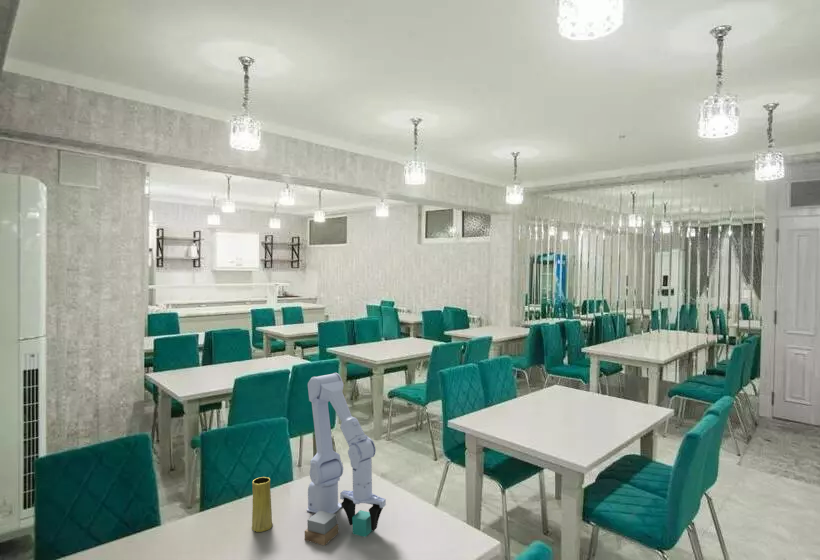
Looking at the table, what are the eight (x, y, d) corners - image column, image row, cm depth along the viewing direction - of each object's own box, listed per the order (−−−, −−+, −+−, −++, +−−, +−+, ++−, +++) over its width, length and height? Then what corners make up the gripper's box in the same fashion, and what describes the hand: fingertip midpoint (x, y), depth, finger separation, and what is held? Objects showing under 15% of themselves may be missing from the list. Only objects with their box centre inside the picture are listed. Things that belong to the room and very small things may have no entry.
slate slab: (307, 530, 135) (307, 519, 135) (320, 520, 140) (319, 510, 140) (324, 534, 132) (324, 524, 132) (336, 524, 138) (336, 514, 138)
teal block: (352, 533, 138) (352, 517, 138) (360, 526, 142) (360, 510, 142) (365, 537, 136) (365, 520, 136) (373, 529, 140) (373, 513, 140)
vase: (247, 527, 142) (247, 480, 142) (266, 519, 146) (265, 474, 146) (258, 534, 138) (257, 486, 138) (276, 526, 142) (275, 480, 142)
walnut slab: (304, 541, 135) (304, 530, 135) (319, 529, 141) (319, 519, 141) (324, 546, 132) (324, 536, 132) (338, 534, 138) (338, 524, 138)
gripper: (334, 482, 138) (335, 527, 138) (377, 491, 132) (378, 538, 132) (347, 473, 144) (347, 516, 144) (388, 480, 138) (389, 526, 138)
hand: (363, 526), depth 139 cm, fingers open, 7 cm apart
